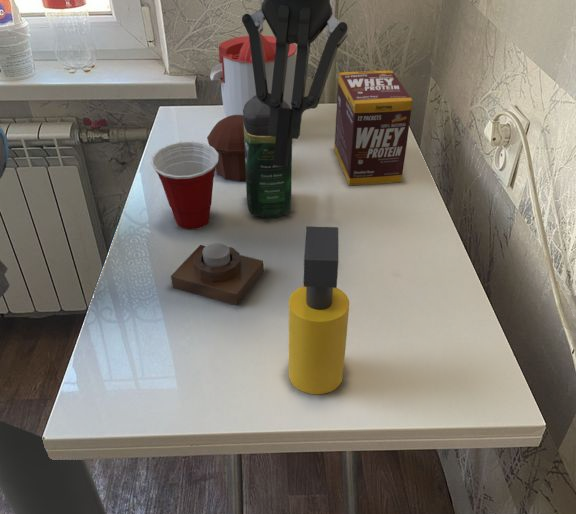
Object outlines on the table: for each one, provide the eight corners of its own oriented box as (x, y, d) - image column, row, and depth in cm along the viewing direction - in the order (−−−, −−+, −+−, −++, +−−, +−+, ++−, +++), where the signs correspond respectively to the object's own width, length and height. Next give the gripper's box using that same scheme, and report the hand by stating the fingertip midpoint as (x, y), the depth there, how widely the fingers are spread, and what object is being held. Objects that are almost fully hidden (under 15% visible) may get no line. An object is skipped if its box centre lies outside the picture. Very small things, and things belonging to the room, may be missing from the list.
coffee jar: (294, 218, 107) (295, 112, 94) (248, 221, 107) (243, 115, 94) (288, 191, 114) (288, 89, 101) (245, 193, 114) (240, 91, 101)
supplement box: (348, 186, 116) (354, 103, 105) (333, 150, 127) (337, 71, 116) (402, 183, 116) (414, 100, 106) (383, 147, 128) (391, 68, 117)
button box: (172, 287, 93) (168, 265, 90) (201, 256, 99) (199, 234, 96) (237, 306, 90) (236, 284, 87) (263, 272, 96) (263, 250, 93)
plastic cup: (152, 236, 103) (141, 169, 95) (170, 203, 111) (161, 139, 103) (216, 241, 102) (210, 174, 94) (229, 207, 110) (225, 143, 102)
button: (198, 264, 91) (197, 254, 90) (211, 250, 94) (210, 240, 93) (222, 270, 90) (221, 261, 89) (235, 256, 93) (234, 246, 92)
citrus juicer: (211, 119, 137) (203, 21, 124) (288, 114, 140) (288, 17, 126) (218, 150, 126) (210, 46, 112) (302, 144, 129) (303, 41, 115)
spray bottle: (290, 349, 83) (291, 222, 70) (342, 351, 83) (353, 224, 69) (287, 393, 77) (287, 264, 64) (343, 395, 77) (355, 266, 64)
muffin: (258, 187, 115) (256, 136, 108) (202, 181, 117) (196, 129, 110) (274, 159, 123) (273, 109, 117) (221, 153, 125) (217, 104, 118)
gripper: (358, -25, 76) (333, 173, 80) (253, -33, 77) (235, 163, 81) (357, -53, 68) (330, 167, 73) (242, -62, 70) (222, 155, 74)
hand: (280, 164), depth 77 cm, fingers closed
